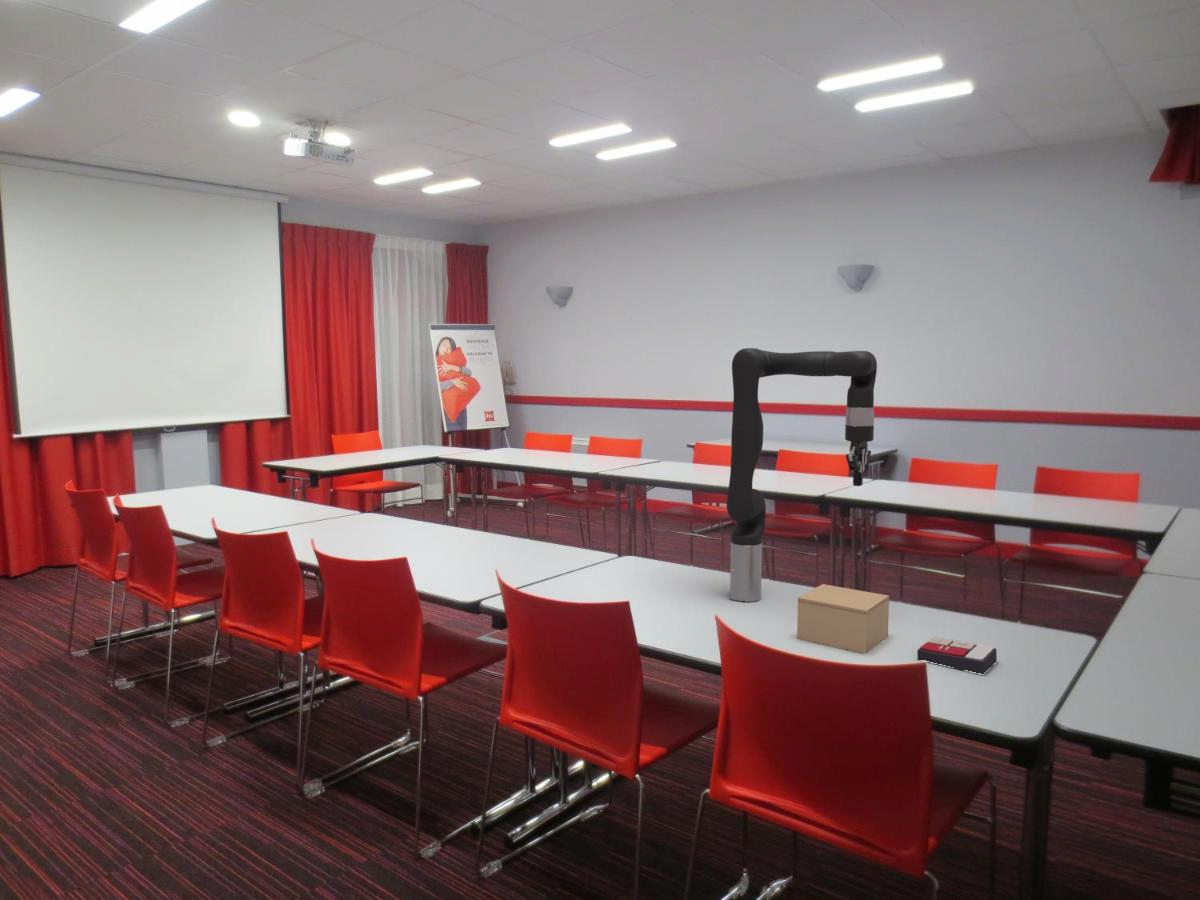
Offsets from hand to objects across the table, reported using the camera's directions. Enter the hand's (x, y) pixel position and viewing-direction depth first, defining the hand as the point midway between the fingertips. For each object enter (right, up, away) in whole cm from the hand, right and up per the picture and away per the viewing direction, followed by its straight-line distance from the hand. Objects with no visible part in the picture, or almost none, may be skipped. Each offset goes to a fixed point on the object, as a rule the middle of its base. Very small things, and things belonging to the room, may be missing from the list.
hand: (857, 485), depth 224 cm
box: (-9, -39, -15) cm, 42 cm away
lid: (-9, -29, -16) cm, 34 cm away
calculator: (+14, -41, -31) cm, 54 cm away
